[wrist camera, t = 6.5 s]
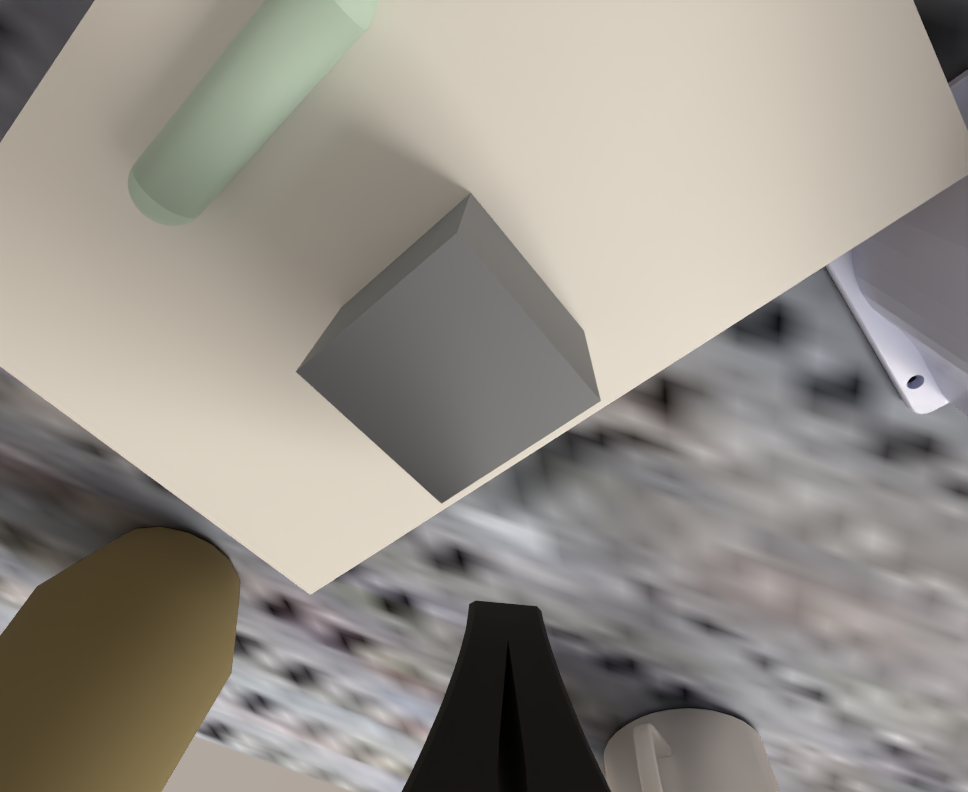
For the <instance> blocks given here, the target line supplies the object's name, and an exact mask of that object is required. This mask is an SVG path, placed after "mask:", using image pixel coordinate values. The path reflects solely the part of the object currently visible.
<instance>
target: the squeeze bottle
mask: <svg viewBox="0 0 968 792" xmlns="http://www.w3.org/2000/svg"><path fill="white" fill-rule="evenodd" d="M239 596H240V579H239V577H238V575H237V573H236V571H235V569H234V567H233V565H232V563H231V562H230V561H229V560H228V559H227V558H226V557H225V556H224V555H223V554H222V553H221V552H220V551H219V550H217V549H216V548H215V547H214V546H213V545H212V544H210V543H208V542H206V541H204V540H202V539H200V538H198V537H196V536H194V535H192V534H190V533H188V532H183V531H178V530H174V529H169V528H164V527H151V528H139V529H134V530H132V531H130V532H128V533H126V534H125V535H123V536H121V537H119V538H117V539H115V540H114V541H112V542H110V543H109V544H107V545H105V546H104V547H102V548H100V549H99V550H97V551H95V552H94V553H92V554H90V555H89V556H87V557H85V558H84V559H82V560H80V561H79V562H77V563H75V564H74V565H72V566H70V567H69V568H67V569H65V570H64V571H62V572H60V573H59V574H57V575H55V576H54V577H52V578H50V579H49V580H47V581H45V582H44V583H42V584H40V585H39V586H37V587H36V588H35V590H34V591H33V593H32V594H31V595H30V597H29V598H28V599H27V601H26V602H25V603H24V605H23V606H22V607H21V609H20V610H19V611H18V613H17V614H16V615H15V617H14V618H13V620H12V621H11V622H10V624H9V625H8V626H7V628H6V629H5V630H4V632H3V633H2V634H1V636H0V792H161V791H162V790H163V788H164V786H165V785H166V783H167V781H168V779H169V778H170V776H171V774H172V773H173V771H174V769H175V768H176V766H177V764H178V762H179V761H180V759H181V757H182V756H183V754H184V752H185V751H186V749H187V747H188V745H189V744H190V742H191V741H192V739H193V737H194V735H195V734H196V732H197V730H198V729H199V727H200V725H201V724H202V722H203V720H204V719H205V717H206V715H207V713H208V712H209V710H210V708H211V707H212V705H213V703H214V702H215V700H216V698H217V696H218V695H219V693H220V691H221V690H222V688H223V686H224V685H225V683H226V681H227V680H228V678H229V676H230V674H231V671H232V662H233V653H234V643H235V634H236V625H237V615H238V606H239Z"/></svg>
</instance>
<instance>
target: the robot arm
mask: <svg viewBox="0 0 968 792" xmlns="http://www.w3.org/2000/svg"><path fill="white" fill-rule="evenodd" d="M948 85H949V87H950V90H951V92H952V94H953V97H954V99H955V101H956V104H957V106H958V109H959V111H960V113H961V116H962V118H963V121H964V123H965V125H966V128H967V130H968V69H967V70H966V71H965V72H963V73H962V74H960V75H959V76H957V77H956V78H955V79H953V80H952V81H950V82H949V83H948ZM825 267H826V269H827V270H828V272H829V274H830V275H831V277H832V279H833V281H834V282H835V284H836V286H837V287H838V289H839V291H840V293H841V294H842V296H843V298H844V300H845V301H846V303H847V305H848V306H849V308H850V310H851V312H852V313H853V315H854V317H855V318H856V320H857V322H858V324H859V325H860V327H861V329H862V331H863V332H864V334H865V336H866V337H867V339H868V341H869V343H870V344H871V346H872V348H873V349H874V351H875V353H876V355H877V356H878V358H879V360H880V361H881V363H882V365H883V367H884V368H885V370H886V372H887V374H888V375H889V377H890V379H891V380H892V382H893V384H894V386H895V387H896V389H897V391H898V392H899V394H900V396H901V398H902V399H903V401H904V403H905V405H906V406H907V407H908V408H909V409H911V410H912V411H913V412H914V413H917V414H926V413H929V412H932V411H934V410H936V409H938V408H939V407H941V406H943V405H945V404H947V403H949V402H950V403H951V404H953V405H954V406H955V407H957V408H958V409H959V410H960V411H962V412H963V413H964V414H965V415H967V416H968V175H967V176H965V177H963V178H962V179H960V180H959V181H957V182H956V183H954V184H952V185H951V186H949V187H948V188H946V189H945V190H943V191H942V192H940V193H938V194H937V195H935V196H934V197H932V198H931V199H929V200H927V201H926V202H924V203H923V204H921V205H920V206H918V207H916V208H915V209H913V210H912V211H910V212H909V213H907V214H905V215H904V216H902V217H901V218H899V219H898V220H896V221H895V222H893V223H891V224H890V225H888V226H887V227H885V228H884V229H882V230H880V231H879V232H877V233H876V234H874V235H873V236H871V237H869V238H868V239H866V240H865V241H863V242H862V243H860V244H859V245H857V246H855V247H854V248H852V249H851V250H849V251H848V252H846V253H844V254H843V255H841V256H840V257H838V258H837V259H835V260H833V261H832V262H830V263H829V264H827V265H826V266H825ZM916 375H917V377H916V379H915V380H913V381H912V382H910V383H907V382H908V380H909V379H910V378H911V377H913V376H916ZM402 792H611V790H610V788H609V786H608V784H607V782H606V780H605V778H604V776H603V774H602V772H601V770H600V768H599V766H598V763H597V761H596V759H595V757H594V755H593V753H592V751H591V748H590V746H589V744H588V742H587V740H586V737H585V735H584V733H583V730H582V728H581V726H580V724H579V721H578V719H577V716H576V714H575V711H574V709H573V706H572V704H571V701H570V699H569V696H568V694H567V692H566V689H565V686H564V684H563V681H562V678H561V676H560V673H559V670H558V667H557V664H556V661H555V658H554V655H553V652H552V649H551V646H550V643H549V640H548V636H547V633H546V629H545V625H544V622H543V617H542V613H541V610H540V609H539V608H538V607H537V606H527V605H516V604H505V603H495V602H484V601H474V602H472V603H471V604H469V611H468V619H467V625H466V630H465V635H464V639H463V643H462V646H461V650H460V653H459V656H458V660H457V663H456V666H455V669H454V672H453V674H452V677H451V680H450V683H449V685H448V688H447V691H446V694H445V697H444V699H443V702H442V704H441V707H440V709H439V712H438V714H437V716H436V719H435V721H434V723H433V726H432V728H431V730H430V733H429V735H428V737H427V740H426V742H425V744H424V747H423V749H422V751H421V753H420V755H419V757H418V760H417V762H416V764H415V766H414V768H413V770H412V772H411V774H410V776H409V778H408V780H407V782H406V784H405V786H404V788H403V790H402Z"/></svg>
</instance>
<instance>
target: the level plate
mask: <svg viewBox="0 0 968 792" xmlns="http://www.w3.org/2000/svg"><path fill="white" fill-rule="evenodd" d="M967 175H968V130H967V128H966V125H965V123H964V121H963V118H962V116H961V113H960V111H959V109H958V106H957V104H956V101H955V99H954V97H953V94H952V92H951V90H950V87H949V85H948V82H947V80H946V78H945V75H944V73H943V70H942V68H941V66H940V63H939V61H938V59H937V56H936V54H935V51H934V49H933V47H932V44H931V42H930V39H929V37H928V35H927V32H926V30H925V28H924V25H923V23H922V20H921V18H920V16H919V13H918V11H917V8H916V6H915V4H914V1H913V0H95V1H94V2H93V4H92V5H91V7H90V8H89V10H88V11H87V13H86V14H85V16H84V17H83V19H82V20H81V22H80V23H79V25H78V26H77V28H76V29H75V31H74V32H73V34H72V35H71V37H70V38H69V40H68V41H67V43H66V44H65V46H64V47H63V49H62V50H61V52H60V53H59V55H58V56H57V58H56V59H55V61H54V62H53V64H52V65H51V67H50V68H49V70H48V71H47V73H46V74H45V76H44V77H43V79H42V80H41V82H40V83H39V85H38V86H37V88H36V89H35V91H34V93H33V94H32V96H31V97H30V99H29V100H28V102H27V103H26V105H25V106H24V108H23V109H22V111H21V112H20V114H19V115H18V117H17V118H16V120H15V121H14V123H13V124H12V126H11V127H10V129H9V130H8V132H7V133H6V135H5V136H4V138H3V139H2V141H1V142H0V367H2V368H3V369H4V370H6V371H7V372H8V373H10V374H11V375H13V376H14V377H15V378H17V379H18V380H19V381H21V382H22V383H23V384H25V385H26V386H28V387H29V388H30V389H32V390H33V391H34V392H36V393H37V394H38V395H40V396H41V397H42V398H44V399H45V400H47V401H48V402H49V403H51V404H52V405H53V406H55V407H56V408H57V409H59V410H60V411H61V412H63V413H64V414H66V415H67V416H68V417H70V418H71V419H72V420H74V421H75V422H76V423H78V424H79V425H80V426H82V427H83V428H85V429H86V430H87V431H89V432H90V433H91V434H93V435H94V436H95V437H97V438H98V439H99V440H101V441H102V442H104V443H105V444H106V445H108V446H109V447H110V448H112V449H113V450H114V451H116V452H117V453H119V454H120V455H121V456H123V457H124V458H125V459H127V460H128V461H129V462H131V463H132V464H133V465H135V466H136V467H138V468H139V469H140V470H142V471H143V472H144V473H146V474H147V475H148V476H150V477H151V478H152V479H154V480H155V481H157V482H158V483H159V484H161V485H162V486H163V487H165V488H166V489H167V490H169V491H170V492H171V493H173V494H174V495H176V496H177V497H178V498H180V499H181V500H182V501H184V502H185V503H186V504H188V505H189V506H191V507H192V508H193V509H195V510H196V511H197V512H199V513H200V514H201V515H203V516H204V517H205V518H207V519H208V520H210V521H211V522H212V523H214V524H215V525H216V526H218V527H219V528H220V529H222V530H223V531H224V532H226V533H227V534H229V535H230V536H231V537H233V538H234V539H235V540H237V541H238V542H239V543H241V544H242V545H243V546H245V547H246V548H248V549H249V550H250V551H252V552H253V553H254V554H256V555H257V556H258V557H260V558H261V559H262V560H264V561H265V562H267V563H268V564H269V565H271V566H272V567H273V568H275V569H276V570H277V571H279V572H280V573H282V574H283V575H284V576H286V577H287V578H288V579H290V580H291V581H292V582H294V583H295V584H296V585H298V586H299V587H301V588H302V589H303V590H305V591H306V592H307V593H309V594H310V595H311V594H312V593H314V592H315V591H317V590H318V589H320V588H322V587H323V586H325V585H326V584H328V583H329V582H331V581H333V580H334V579H336V578H337V577H339V576H340V575H342V574H343V573H345V572H347V571H348V570H350V569H351V568H353V567H354V566H356V565H358V564H359V563H361V562H362V561H364V560H365V559H367V558H369V557H370V556H372V555H373V554H375V553H376V552H378V551H379V550H381V549H383V548H384V547H386V546H387V545H389V544H390V543H392V542H394V541H395V540H397V539H398V538H400V537H401V536H403V535H405V534H406V533H408V532H409V531H411V530H412V529H414V528H415V527H417V526H419V525H420V524H422V523H423V522H425V521H426V520H428V519H430V518H431V517H433V516H434V515H436V514H437V513H439V512H441V511H442V510H444V509H445V508H447V507H448V506H450V505H452V504H453V503H455V502H456V501H458V500H459V499H461V498H462V497H464V496H466V495H467V494H469V493H470V492H472V491H473V490H475V489H477V488H478V487H480V486H481V485H483V484H484V483H486V482H488V481H489V480H491V479H492V478H494V477H495V476H497V475H498V474H500V473H502V472H503V471H505V470H506V469H508V468H509V467H511V466H513V465H514V464H516V463H517V462H519V461H520V460H522V459H524V458H525V457H527V456H528V455H530V454H531V453H533V452H534V451H536V450H538V449H539V448H541V447H542V446H544V445H545V444H547V443H549V442H550V441H552V440H553V439H555V438H556V437H558V436H560V435H561V434H563V433H564V432H566V431H567V430H569V429H570V428H572V427H574V426H575V425H577V424H578V423H580V422H581V421H583V420H585V419H586V418H588V417H589V416H591V415H592V414H594V413H596V412H597V411H599V410H600V409H602V408H603V407H605V406H606V405H608V404H610V403H611V402H613V401H614V400H616V399H617V398H619V397H621V396H622V395H624V394H625V393H627V392H628V391H630V390H632V389H633V388H635V387H636V386H638V385H639V384H641V383H642V382H644V381H646V380H647V379H649V378H650V377H652V376H653V375H655V374H657V373H658V372H660V371H661V370H663V369H664V368H666V367H668V366H669V365H671V364H672V363H674V362H675V361H677V360H678V359H680V358H682V357H683V356H685V355H686V354H688V353H689V352H691V351H693V350H694V349H696V348H697V347H699V346H700V345H702V344H704V343H705V342H707V341H708V340H710V339H711V338H713V337H715V336H716V335H718V334H719V333H721V332H722V331H724V330H725V329H727V328H729V327H730V326H732V325H733V324H735V323H736V322H738V321H740V320H741V319H743V318H744V317H746V316H747V315H749V314H751V313H752V312H754V311H755V310H757V309H758V308H760V307H761V306H763V305H765V304H766V303H768V302H769V301H771V300H772V299H774V298H776V297H777V296H779V295H780V294H782V293H783V292H785V291H787V290H788V289H790V288H791V287H793V286H794V285H796V284H797V283H799V282H801V281H802V280H804V279H805V278H807V277H808V276H810V275H812V274H813V273H815V272H816V271H818V270H819V269H821V268H823V267H824V266H826V265H827V264H829V263H830V262H832V261H833V260H835V259H837V258H838V257H840V256H841V255H843V254H844V253H846V252H848V251H849V250H851V249H852V248H854V247H855V246H857V245H859V244H860V243H862V242H863V241H865V240H866V239H868V238H869V237H871V236H873V235H874V234H876V233H877V232H879V231H880V230H882V229H884V228H885V227H887V226H888V225H890V224H891V223H893V222H895V221H896V220H898V219H899V218H901V217H902V216H904V215H905V214H907V213H909V212H910V211H912V210H913V209H915V208H916V207H918V206H920V205H921V204H923V203H924V202H926V201H927V200H929V199H931V198H932V197H934V196H935V195H937V194H938V193H940V192H942V191H943V190H945V189H946V188H948V187H949V186H951V185H952V184H954V183H956V182H957V181H959V180H960V179H962V178H963V177H965V176H967Z"/></svg>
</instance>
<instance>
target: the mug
mask: <svg viewBox="0 0 968 792" xmlns="http://www.w3.org/2000/svg"><path fill="white" fill-rule="evenodd" d="M604 764H605V772H606V779H607V784H608V786H609V788H610V790H611V792H780V790H779V787H778V784H777V781H776V779H775V776H774V773H773V770H772V768H771V765H770V762H769V759H768V757H767V754H766V751H765V748H764V746H763V743H762V740H761V737H760V736H759V735H758V733H757V732H756V731H755V729H753V728H752V727H751V726H749V725H748V724H747V723H745V722H744V721H742V720H740V719H737V718H735V717H733V716H730V715H727V714H723V713H720V712H716V711H712V710H706V709H698V708H679V709H669V710H664V711H659V712H654V713H651V714H648V715H645V716H642V717H640V718H638V719H636V720H634V721H632V722H630V723H629V724H627V725H626V726H624V727H623V728H622V729H620V730H619V731H618V732H616V733H615V734H614V736H613V737H612V738H611V739H610V740H609V742H608V744H607V746H606V748H605V751H604Z"/></svg>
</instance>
